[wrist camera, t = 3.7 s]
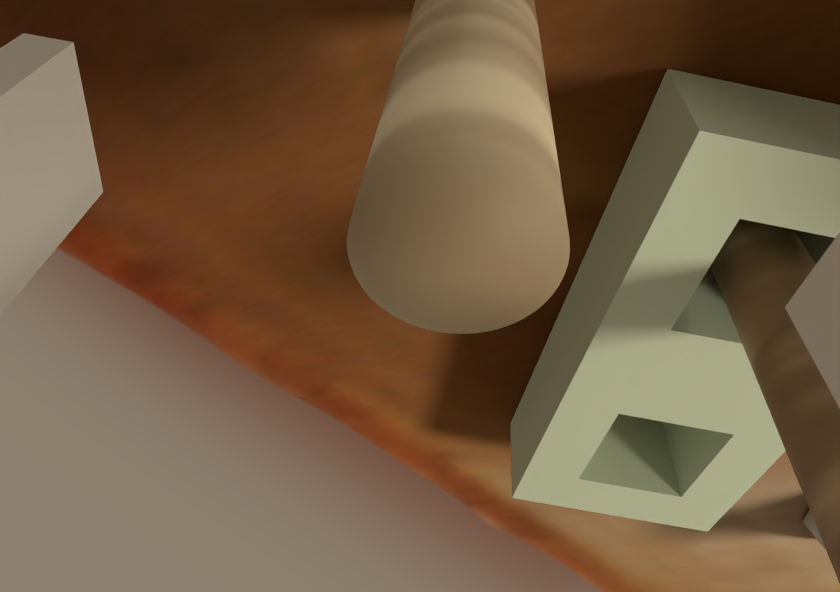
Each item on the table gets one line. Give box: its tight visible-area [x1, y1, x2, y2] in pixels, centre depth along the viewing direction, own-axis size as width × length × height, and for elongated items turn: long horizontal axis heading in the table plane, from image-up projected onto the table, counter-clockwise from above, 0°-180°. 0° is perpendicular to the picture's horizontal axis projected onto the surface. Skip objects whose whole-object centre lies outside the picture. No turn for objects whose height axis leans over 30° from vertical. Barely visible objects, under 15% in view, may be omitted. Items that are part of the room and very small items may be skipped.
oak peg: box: [711, 219, 840, 583], centre depth 19 cm, size 3×3×15 cm
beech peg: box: [347, 0, 570, 334], centre depth 14 cm, size 3×3×15 cm
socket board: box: [510, 69, 840, 532], centre depth 27 cm, size 20×10×4 cm, turn 170°
